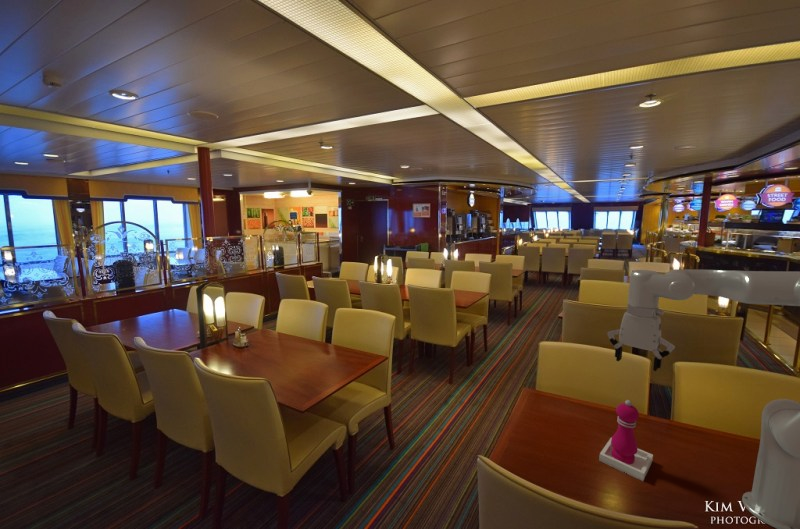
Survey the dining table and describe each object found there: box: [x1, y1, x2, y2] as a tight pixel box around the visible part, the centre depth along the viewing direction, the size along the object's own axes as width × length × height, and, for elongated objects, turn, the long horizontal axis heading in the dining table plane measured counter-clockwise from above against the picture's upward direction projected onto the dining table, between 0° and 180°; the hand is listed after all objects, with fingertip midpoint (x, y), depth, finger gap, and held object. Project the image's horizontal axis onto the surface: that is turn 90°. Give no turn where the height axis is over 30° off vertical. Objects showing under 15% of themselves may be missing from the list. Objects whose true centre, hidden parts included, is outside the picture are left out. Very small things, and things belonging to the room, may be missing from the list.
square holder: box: [598, 436, 654, 482], centre depth 111 cm, size 12×12×2 cm
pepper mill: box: [611, 399, 640, 464], centre depth 111 cm, size 7×7×20 cm
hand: (636, 364), depth 107 cm, fingers open, 9 cm apart
